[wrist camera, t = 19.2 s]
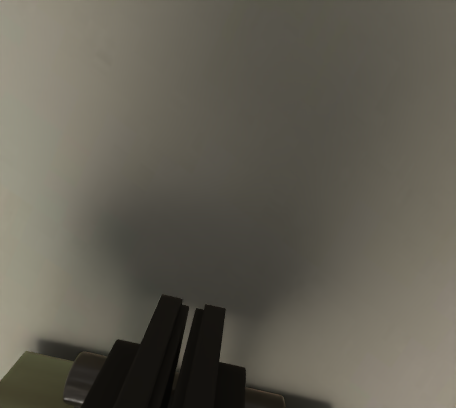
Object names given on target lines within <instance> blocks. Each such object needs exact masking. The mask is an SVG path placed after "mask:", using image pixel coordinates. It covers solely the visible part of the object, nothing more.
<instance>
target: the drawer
mask: <svg viewBox="0 0 456 408" xmlns="http://www.w3.org/2000/svg"><path fill="white" fill-rule="evenodd" d="M107 357H108V356H103V355H99V354H94V353H90V352H85V351H84V352H81V353H80V354H79V355H78V356H77V357H76V359H75V361H69V360H65V359H60V358H56V357H51V356H47V355H43V354H38V353H34V352H29V351H25V353H24V354H23V355H22V356H21V357H20V359H19V360H18V361H17V362H16V363H15V364H14V366H13V367H12V368H11V369H10V370H9V372H8V373H7V374H6V375H5V376H4V377H3V379H2V380H1V381H0V408H80V407H81V405H82V404H83V402H84V400H85V398H86V396H87V394H88V392H89V390H90V389H91V387H92V385H93V383H94V381H95V379H96V377H97V375H98V373H99V372H100V370H101V368H102V366H103V364H104V362H105V360H106V358H107ZM178 376H179V372H175V377H174V382H173V387H172V391H171V395H170V399H169V403H168V407H167V408H171V404H172V400H173V396H174V392H175V388H176V384H177V380H178ZM245 408H285V401H284V398H283V396H281V395H278V394H274V393H269V392H265V391H260V390H256V389H251V388H247V387H245Z"/></svg>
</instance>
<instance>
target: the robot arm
mask: <svg viewBox="0 0 456 408" xmlns="http://www.w3.org/2000/svg"><path fill="white" fill-rule="evenodd" d="M182 300H183V299H181V298H176V297H172V296H167V295H163V294H162V296H161V298H160V300H159V302H158V305H157V307H156V309H155V311H154V314H153V316H152V318H151V321H150V323H149V325H148V328H147V330H146V332H145V335H144V337H143V339H142V342H141V344H136V343H132V342H127V341H123V340H117V341H116V342H115V344H114V345H113V347H112V349H111V351H110V353H109V355H108V357H107V358H106V360H105V362H104V364H103V366H102V368H101V370H100V372H99V373H98V375H97V377H96V379H95V381H94V383H93V385H92V387H91V389H90V390H89V392H88V394H87V396H86V398H85V400H84V402H83V404H82V405H81V407H80V408H167V407H168V403H169V399H170V395H171V391H172V387H173V382H174V377H175V372H176V368H177V363H178V358H179V353H180V349H181V344H182V339H183V334H184V330H185V325H186V320H187V315H188V311H189V306H186V305H182ZM225 310H226V309H225V308H221V307H216V306H212V305H207V304H205V308H204V310H203V309H199V308H196V310H195V314H194V318H193V322H192V326H191V330H190V333H189V337H188V341H187V345H186V349H185V353H184V357H183V361H182V365H181V369H180V373H179V376H178V380H177V384H176V388H175V392H174V396H173V400H172V404H171V408H245V384H246V370H245V368H244V367H239V366H235V365H231V364H226V363H222V362H219V359H220V351H221V343H222V335H223V327H224V319H225Z"/></svg>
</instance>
